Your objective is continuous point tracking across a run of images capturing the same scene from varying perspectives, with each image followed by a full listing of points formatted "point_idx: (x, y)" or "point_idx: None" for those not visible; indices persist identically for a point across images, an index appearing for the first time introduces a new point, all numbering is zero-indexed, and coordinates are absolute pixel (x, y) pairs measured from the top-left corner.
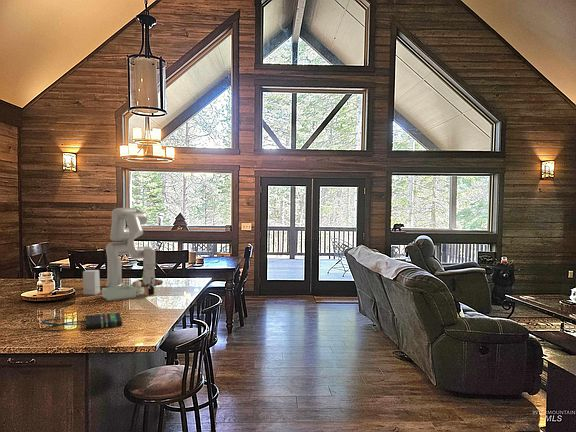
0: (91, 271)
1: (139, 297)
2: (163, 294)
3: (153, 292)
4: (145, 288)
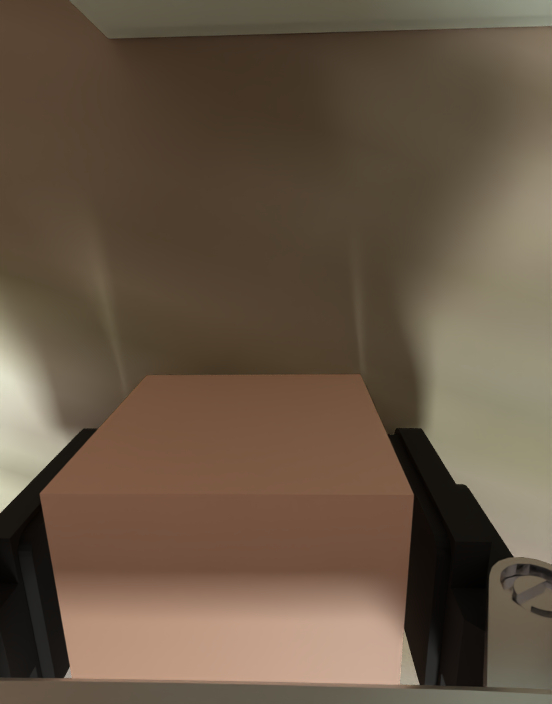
0: None
1: (18, 122)
2: None
3: None
4: (234, 472)
